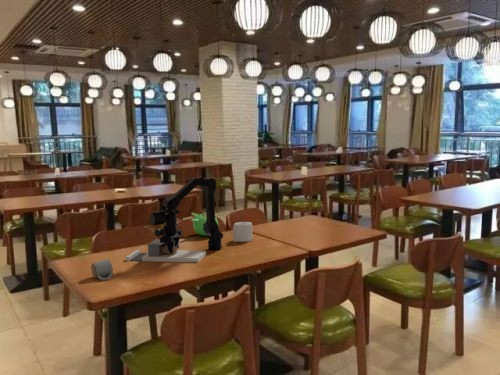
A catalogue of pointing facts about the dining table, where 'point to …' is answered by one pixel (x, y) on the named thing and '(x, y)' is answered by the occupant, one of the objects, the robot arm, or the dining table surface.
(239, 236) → the toilet tissue
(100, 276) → the ceramic mug
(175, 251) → the walnut bar
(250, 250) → the dining table surface
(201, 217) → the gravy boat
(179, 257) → the platform
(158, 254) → the tunnel
